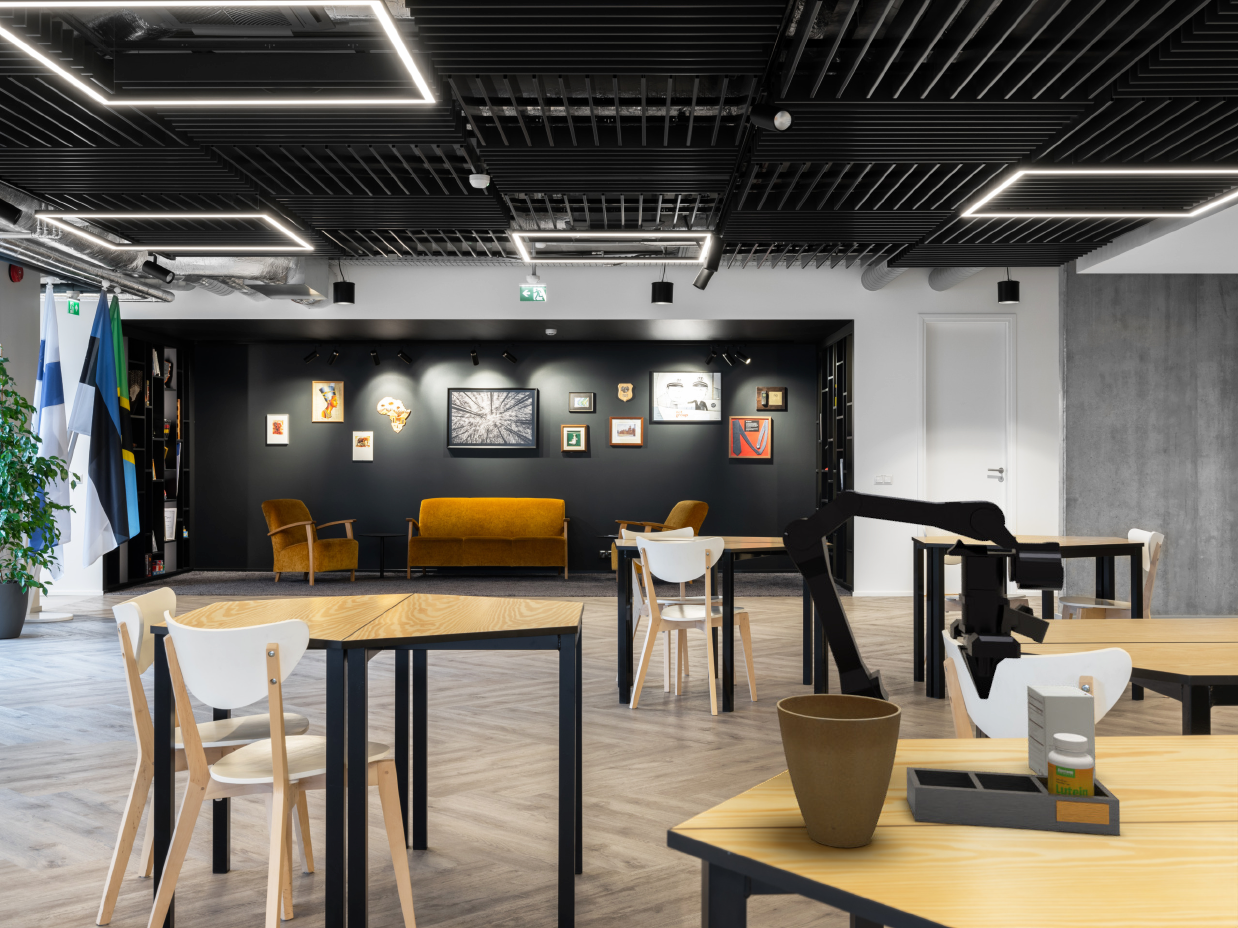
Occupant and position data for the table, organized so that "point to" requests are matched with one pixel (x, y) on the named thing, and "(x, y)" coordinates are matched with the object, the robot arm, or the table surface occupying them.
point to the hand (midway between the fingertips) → (983, 698)
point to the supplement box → (1057, 721)
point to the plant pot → (839, 762)
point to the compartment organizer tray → (1008, 802)
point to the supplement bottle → (1070, 766)
